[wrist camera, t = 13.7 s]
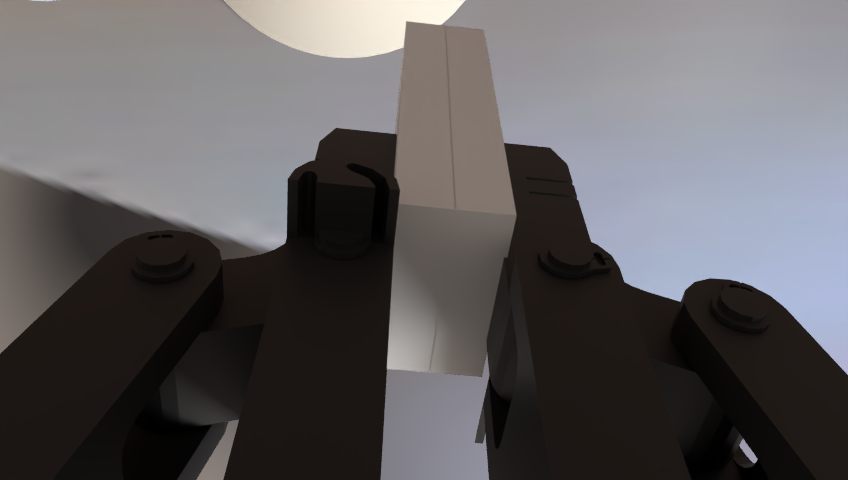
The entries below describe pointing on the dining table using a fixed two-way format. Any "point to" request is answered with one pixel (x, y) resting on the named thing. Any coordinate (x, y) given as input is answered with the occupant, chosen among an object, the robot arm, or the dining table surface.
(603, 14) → the dining table surface
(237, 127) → the dining table surface
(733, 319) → the robot arm
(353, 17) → the disc
